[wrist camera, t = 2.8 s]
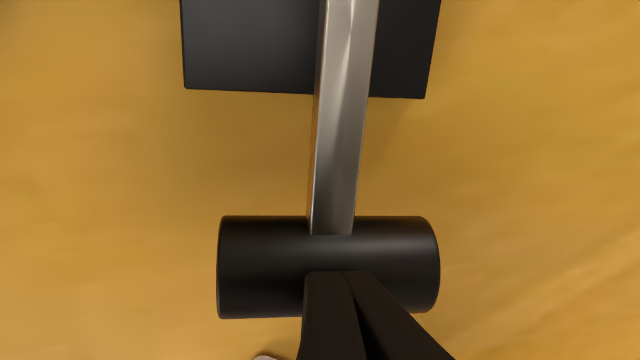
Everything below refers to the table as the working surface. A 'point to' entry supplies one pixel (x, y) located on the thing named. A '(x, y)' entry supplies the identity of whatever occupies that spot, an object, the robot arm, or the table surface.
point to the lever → (328, 199)
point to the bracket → (299, 46)
